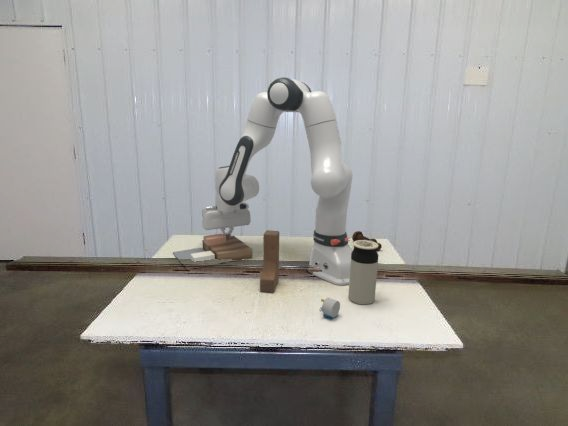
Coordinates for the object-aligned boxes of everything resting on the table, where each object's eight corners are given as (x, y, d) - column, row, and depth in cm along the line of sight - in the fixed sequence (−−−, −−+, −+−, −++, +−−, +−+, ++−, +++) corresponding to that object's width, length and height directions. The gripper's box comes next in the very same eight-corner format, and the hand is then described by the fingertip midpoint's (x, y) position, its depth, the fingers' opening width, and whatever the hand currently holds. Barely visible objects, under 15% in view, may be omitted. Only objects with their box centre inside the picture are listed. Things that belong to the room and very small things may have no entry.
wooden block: (273, 293, 116) (274, 239, 112) (259, 291, 117) (259, 238, 113) (278, 281, 125) (279, 230, 121) (265, 280, 126) (266, 229, 121)
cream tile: (214, 260, 140) (214, 254, 140) (194, 264, 137) (193, 258, 136) (210, 256, 145) (210, 250, 144) (190, 260, 141) (190, 253, 140)
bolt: (377, 255, 157) (354, 244, 169) (385, 248, 158) (362, 238, 171) (373, 245, 154) (350, 234, 166) (381, 238, 155) (358, 228, 168)
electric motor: (327, 307, 108) (328, 292, 107) (341, 313, 105) (342, 297, 104) (314, 316, 103) (314, 300, 101) (328, 322, 100) (329, 306, 99)
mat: (218, 264, 138) (218, 263, 138) (186, 270, 132) (186, 269, 132) (201, 248, 155) (201, 247, 155) (172, 253, 149) (172, 252, 149)
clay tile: (226, 242, 151) (226, 236, 151) (207, 245, 147) (207, 239, 147) (221, 239, 155) (221, 233, 155) (203, 241, 152) (203, 236, 151)
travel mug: (355, 306, 109) (359, 249, 105) (344, 294, 116) (347, 240, 112) (379, 303, 111) (384, 247, 107) (366, 292, 118) (371, 238, 114)
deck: (252, 258, 146) (252, 248, 145) (218, 264, 139) (218, 254, 138) (233, 244, 162) (233, 235, 161) (202, 249, 155) (202, 240, 154)
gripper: (204, 209, 143) (205, 242, 146) (252, 204, 153) (252, 236, 156) (199, 205, 148) (200, 238, 152) (246, 201, 158) (246, 232, 161)
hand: (227, 237), depth 154 cm, fingers closed
